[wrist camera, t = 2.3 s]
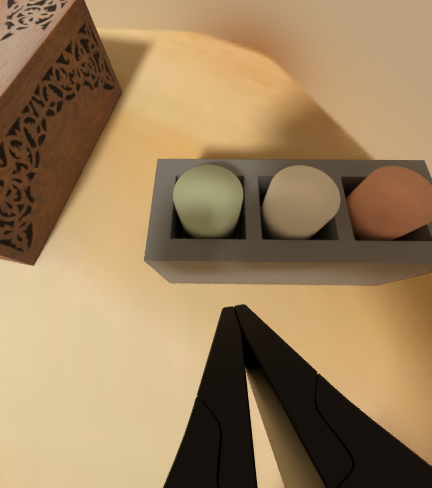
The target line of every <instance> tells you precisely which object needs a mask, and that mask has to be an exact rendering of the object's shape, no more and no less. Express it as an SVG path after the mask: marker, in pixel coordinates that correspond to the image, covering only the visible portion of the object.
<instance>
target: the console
mask: <svg viewBox="0 0 432 488" xmlns="http://www.w3.org/2000/svg"><path fill="white" fill-rule="evenodd" d="M201 165H216V166H220V167H223V168H226V169H227V170H229V171H231V172H232V173H233V174H234V175H235V176H236V177H237V178H238V179H239V181H240V183H241V185H242V189H243V200H242V205H241V210H240V215H239V220H238V225H237V230H236V233H235V235H234V237H233V239H188V238H187V237H186V234H185V232H184V229H183V226H182V224H181V221H180V218H179V215H178V213H177V210H176V207H175V204H174V201H173V191H174V187H175V184H176V182H177V181H178V179H179V178H180V177H181V176H182V175H183V174H184V173H185V172H187V171H188V170H190V169H192V168H194V167H197V166H201ZM296 165H303V166H310V167H313V168H316V169H318V170H320V171H322V172H324V173H325V174H327V175H328V176H329V177H330V178H331V179H332V180H333V181H334V183H335V184H336V186H337V188H338V190H339V193H340V206H339V209H338V211H337V213H336V214H335V216H334V217H333V218H332V219H331V220H329V221H328V222H327V223H326V224H325V225H324V226H323V227H322V228H321V229H320V230H319V231H318V232H316V233H315V234H314V235H313V236H312V237H311V238H310V239H309V240H263V239H262V233H261V217H260V210H261V207H262V204H263V201H264V199H265V196H266V193H267V191H268V188H269V185H270V183H271V181H272V179H273V177H274V176H275V175H276V174H277V173H278V172H279V171H281V170H283V169H285V168H287V167H290V166H296ZM385 166H399V167H404V168H407V169H410V170H412V171H414V172H416V173H418V174H420V175H421V176H423V177H424V178H425V179H426V180H427V181H428V182H429V183H430V184H431V185H432V178H431V176H430V173H429V171H428V168H427V166H426V163H425V161H424V160H275V159H158V160H157V167H156V175H155V182H154V190H153V197H152V205H151V212H150V220H149V227H148V235H147V242H146V250H145V257H144V261H145V262H146V263H147V264H149V265H150V266H151V267H152V268H153V269H154V270H156V271H157V272H158V273H159V274H160V275H161V276H163V277H164V278H165V279H166V280H167V281H168V282H170V283H203V284H285V285H367V286H377V285H381V284H385V283H390V282H394V281H398V280H402V279H406V278H410V277H415V276H419V275H423V274H427V273H431V272H432V221H431V222H430V223H428V224H426V225H424V226H422V227H420V228H417V229H415V230H413V231H411V232H409V233H407V234H405V235H403V236H401V237H399V238H397V239H394V240H392V241H355V239H354V234H353V230H352V225H351V221H350V216H349V212H348V207H347V203H346V199H345V198H346V197H347V196H348V195H349V194H350V193H351V192H352V191H353V190H354V189H355V188H356V187H358V186H359V185H360V184H361V183H362V182H363V181H364V180H365V179H366V178H367V177H368V176H369V175H370V174H371V173H372V172H373V171H375V170H376V169H378V168H381V167H385Z"/></svg>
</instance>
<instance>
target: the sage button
mask: <svg viewBox="0 0 432 488" xmlns="http://www.w3.org/2000/svg"><path fill="white" fill-rule="evenodd" d="M242 200H243V189H242V185H241V183H240V181H239V179H238V178H237V177H236V176H235V175H234V174H233V173H232V172H231V171H229V170H227V169H226V168H223V167H220V166H216V165H201V166H197V167H194V168H192V169H190V170H188V171H187V172H185V173H184V174H183V175H182V176H181V177H180V178H179V179H178V181H177V182H176V184H175V187H174V191H173V201H174V204H175V207H176V210H177V213H178V215H179V218H180V221H181V224H182V226H183V229H184V232H185V234H186V237H187V238H188V239H233V237H234V235H235V233H236V230H237V225H238V220H239V215H240V210H241V205H242Z"/></svg>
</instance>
